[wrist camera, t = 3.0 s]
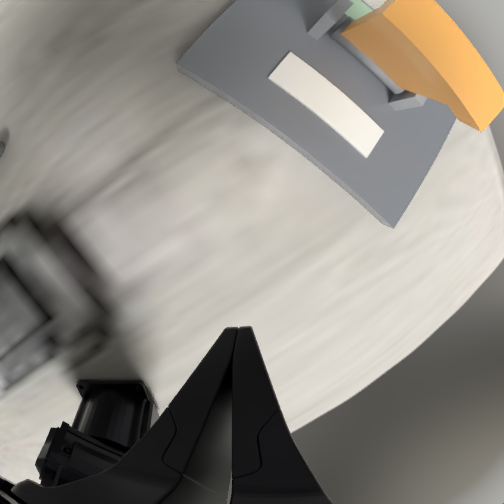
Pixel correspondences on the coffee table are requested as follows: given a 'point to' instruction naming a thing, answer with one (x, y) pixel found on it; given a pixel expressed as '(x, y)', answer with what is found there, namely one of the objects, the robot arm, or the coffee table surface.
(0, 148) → the walkie-talkie
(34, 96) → the coffee table surface
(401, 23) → the breaker lever
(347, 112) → the box
